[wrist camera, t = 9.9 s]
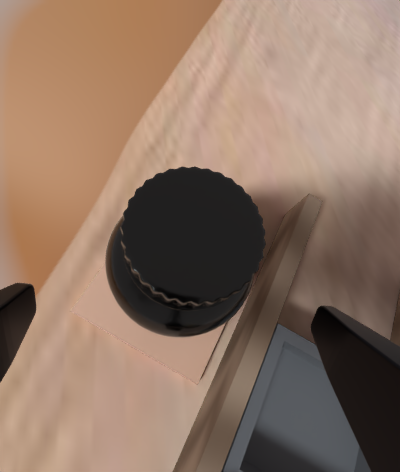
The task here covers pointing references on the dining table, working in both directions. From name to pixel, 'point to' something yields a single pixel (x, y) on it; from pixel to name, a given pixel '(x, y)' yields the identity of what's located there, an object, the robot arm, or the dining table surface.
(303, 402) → the box
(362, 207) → the dining table surface
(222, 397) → the walled lane
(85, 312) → the tile
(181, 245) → the supplement bottle
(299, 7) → the dining table surface
